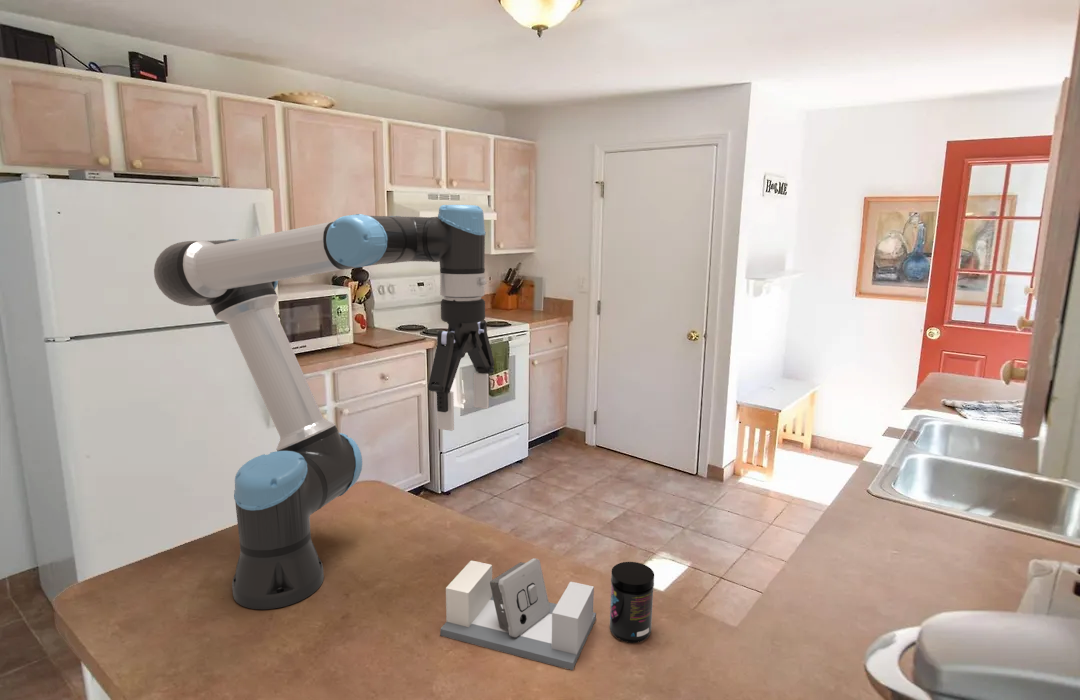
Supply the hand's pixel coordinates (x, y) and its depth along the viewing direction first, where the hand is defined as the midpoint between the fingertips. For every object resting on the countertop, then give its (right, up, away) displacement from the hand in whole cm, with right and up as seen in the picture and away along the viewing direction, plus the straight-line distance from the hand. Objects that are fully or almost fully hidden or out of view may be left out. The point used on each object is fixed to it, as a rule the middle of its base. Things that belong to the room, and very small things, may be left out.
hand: (464, 417), depth 110 cm
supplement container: (+28, -34, -9) cm, 45 cm away
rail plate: (+10, -33, -9) cm, 36 cm away
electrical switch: (+10, -32, -9) cm, 35 cm away
